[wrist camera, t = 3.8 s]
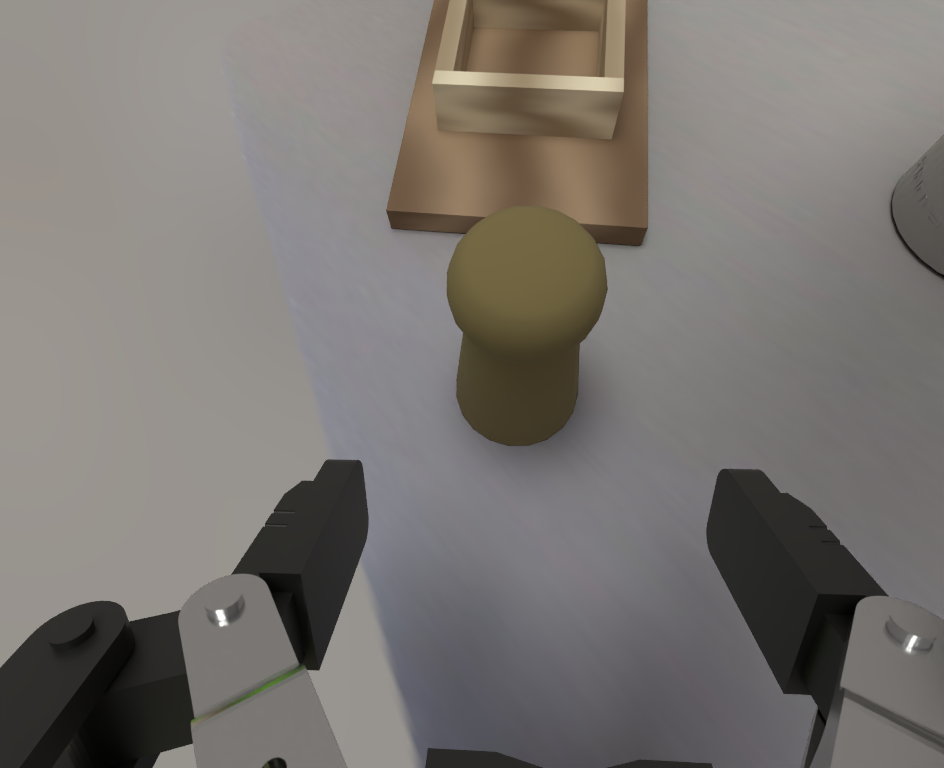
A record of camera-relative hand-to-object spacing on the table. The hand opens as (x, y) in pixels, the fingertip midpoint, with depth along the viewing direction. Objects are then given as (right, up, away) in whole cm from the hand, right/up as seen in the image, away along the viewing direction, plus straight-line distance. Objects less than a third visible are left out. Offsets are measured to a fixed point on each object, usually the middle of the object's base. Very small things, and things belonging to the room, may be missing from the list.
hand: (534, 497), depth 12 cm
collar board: (+2, +21, +21) cm, 30 cm away
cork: (+1, +2, +14) cm, 14 cm away
